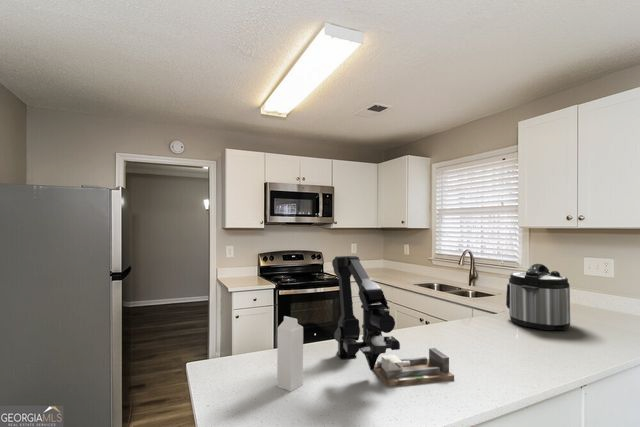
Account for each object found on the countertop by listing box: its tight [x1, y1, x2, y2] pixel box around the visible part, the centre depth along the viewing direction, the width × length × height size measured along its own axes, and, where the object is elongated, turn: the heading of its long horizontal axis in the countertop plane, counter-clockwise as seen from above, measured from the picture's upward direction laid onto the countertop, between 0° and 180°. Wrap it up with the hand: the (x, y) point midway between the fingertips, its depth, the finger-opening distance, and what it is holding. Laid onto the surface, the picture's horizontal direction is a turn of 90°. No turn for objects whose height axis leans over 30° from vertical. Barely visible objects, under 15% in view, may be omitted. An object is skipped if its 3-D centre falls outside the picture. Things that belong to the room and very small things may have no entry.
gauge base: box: [372, 347, 455, 387], centre depth 118 cm, size 24×14×6 cm, turn 102°
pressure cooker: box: [505, 263, 571, 331], centre depth 178 cm, size 30×28×32 cm
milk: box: [276, 315, 304, 393], centre depth 109 cm, size 6×6×22 cm
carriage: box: [381, 354, 410, 373], centre depth 115 cm, size 9×10×4 cm
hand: (371, 369), depth 115 cm, fingers closed
